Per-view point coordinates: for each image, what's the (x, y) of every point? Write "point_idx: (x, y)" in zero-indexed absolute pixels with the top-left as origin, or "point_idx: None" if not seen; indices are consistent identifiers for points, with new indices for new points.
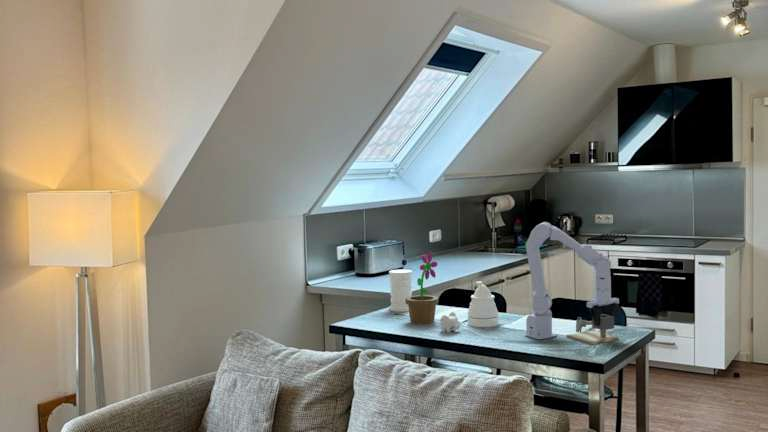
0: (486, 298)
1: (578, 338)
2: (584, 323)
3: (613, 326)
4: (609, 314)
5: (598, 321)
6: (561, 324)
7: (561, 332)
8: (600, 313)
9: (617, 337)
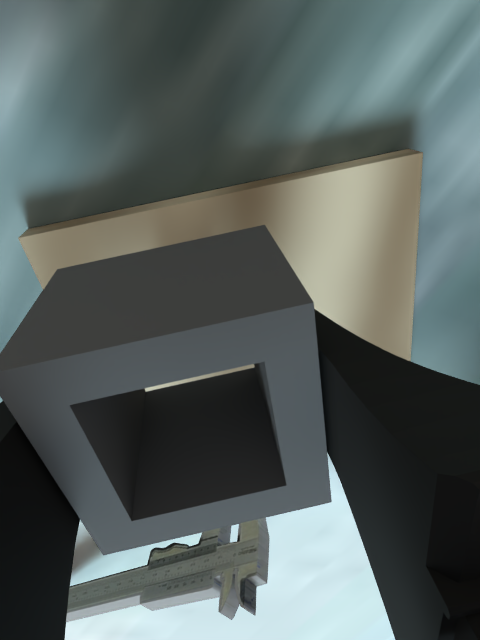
0: None
1: (411, 313)
2: (168, 570)
3: (63, 277)
4: (35, 488)
5: (338, 324)
6: (215, 623)
7: (330, 509)
8: (382, 402)
9: (39, 231)
